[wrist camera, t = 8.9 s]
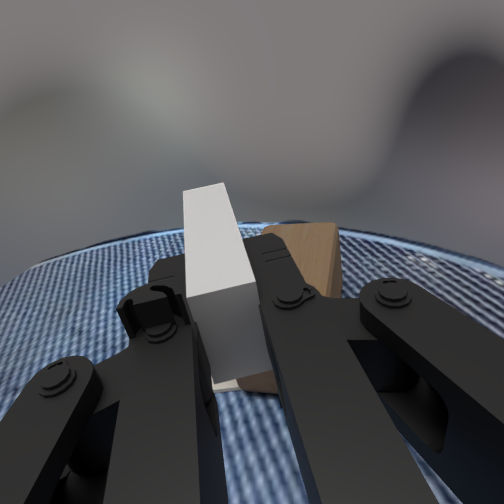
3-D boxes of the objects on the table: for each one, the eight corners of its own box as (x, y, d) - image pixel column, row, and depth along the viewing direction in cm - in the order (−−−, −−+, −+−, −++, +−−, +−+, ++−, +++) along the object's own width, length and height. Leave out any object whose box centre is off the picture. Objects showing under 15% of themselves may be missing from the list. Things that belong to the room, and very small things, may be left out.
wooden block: (236, 394, 39) (274, 282, 55) (332, 403, 36) (343, 282, 52) (214, 322, 34) (263, 222, 50) (323, 326, 31) (338, 218, 47)
